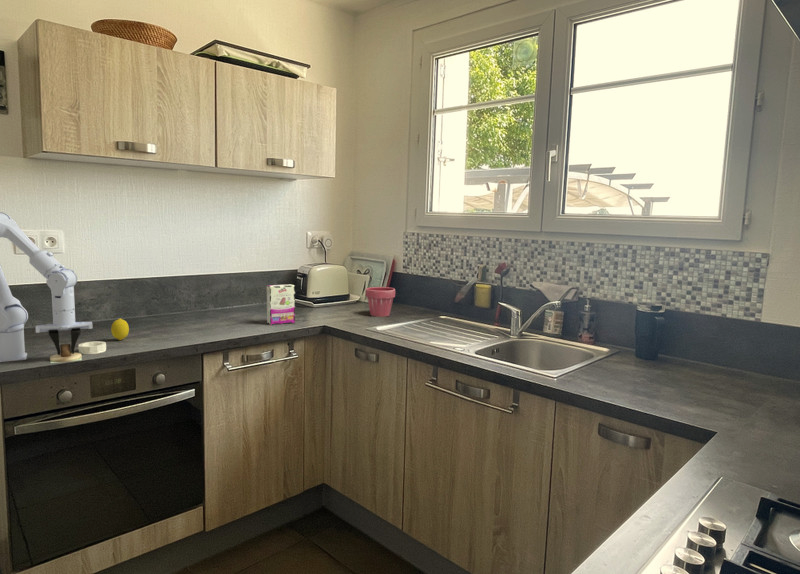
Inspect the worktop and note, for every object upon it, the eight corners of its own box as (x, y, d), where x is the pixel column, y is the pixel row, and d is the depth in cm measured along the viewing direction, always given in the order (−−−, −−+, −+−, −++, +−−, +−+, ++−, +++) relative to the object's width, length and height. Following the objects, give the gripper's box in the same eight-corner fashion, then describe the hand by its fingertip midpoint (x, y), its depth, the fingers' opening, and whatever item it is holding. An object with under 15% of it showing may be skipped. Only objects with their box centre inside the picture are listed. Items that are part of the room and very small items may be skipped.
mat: (50, 364, 158) (50, 363, 158) (50, 357, 165) (50, 357, 165) (82, 360, 163) (82, 359, 162) (80, 355, 169) (80, 354, 169)
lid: (50, 363, 158) (49, 349, 157) (49, 357, 165) (49, 343, 164) (82, 360, 162) (81, 346, 162) (80, 354, 169) (80, 340, 169)
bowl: (79, 356, 168) (79, 347, 168) (78, 350, 174) (77, 342, 174) (107, 353, 172) (106, 345, 172) (104, 348, 178) (104, 340, 178)
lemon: (109, 342, 186) (109, 320, 185) (113, 339, 191) (113, 317, 190) (127, 342, 188) (126, 319, 187) (130, 338, 193) (130, 316, 192)
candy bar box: (291, 321, 235) (291, 283, 233) (295, 323, 230) (295, 285, 228) (266, 323, 229) (266, 284, 226) (270, 325, 224) (270, 286, 222)
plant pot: (358, 314, 256) (359, 287, 255) (381, 311, 266) (382, 286, 264) (378, 319, 246) (378, 291, 244) (400, 316, 255) (401, 289, 254)
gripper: (34, 313, 154) (37, 359, 156) (92, 310, 162) (94, 353, 164) (34, 309, 160) (37, 354, 162) (90, 306, 168) (92, 348, 170)
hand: (65, 353), depth 163 cm, fingers open, 3 cm apart
